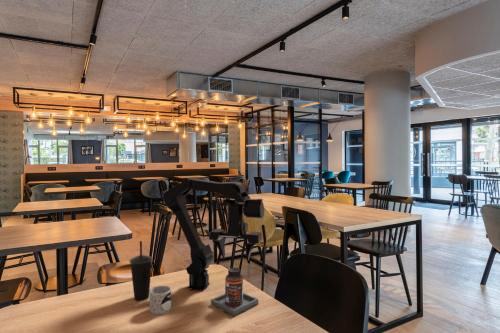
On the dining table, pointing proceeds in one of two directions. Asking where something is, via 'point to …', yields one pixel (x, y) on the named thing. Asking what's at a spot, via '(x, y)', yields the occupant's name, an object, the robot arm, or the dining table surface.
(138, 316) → the dining table surface
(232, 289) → the supplement bottle
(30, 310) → the dining table surface
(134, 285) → the drinking cup
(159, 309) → the mug
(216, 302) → the tray
